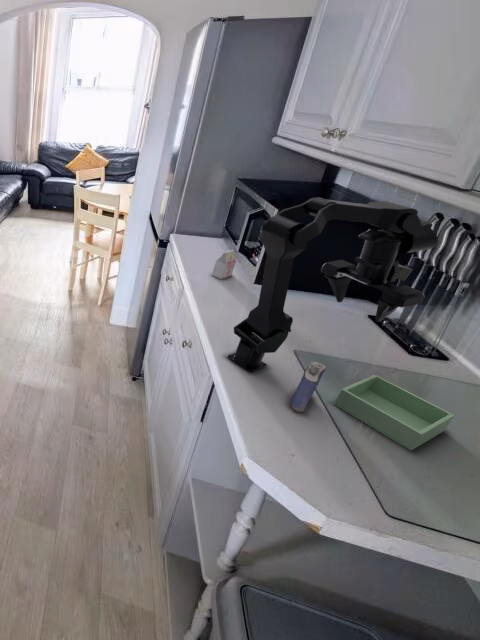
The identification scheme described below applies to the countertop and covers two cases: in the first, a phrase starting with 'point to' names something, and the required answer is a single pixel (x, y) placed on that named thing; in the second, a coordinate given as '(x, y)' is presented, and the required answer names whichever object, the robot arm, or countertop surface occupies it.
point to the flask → (307, 386)
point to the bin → (393, 411)
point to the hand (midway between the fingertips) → (358, 311)
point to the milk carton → (224, 265)
